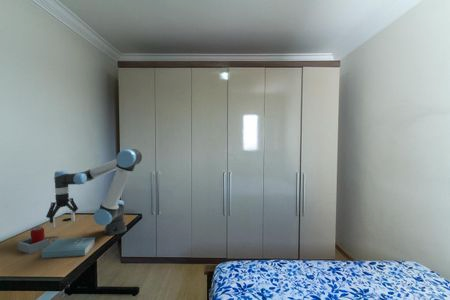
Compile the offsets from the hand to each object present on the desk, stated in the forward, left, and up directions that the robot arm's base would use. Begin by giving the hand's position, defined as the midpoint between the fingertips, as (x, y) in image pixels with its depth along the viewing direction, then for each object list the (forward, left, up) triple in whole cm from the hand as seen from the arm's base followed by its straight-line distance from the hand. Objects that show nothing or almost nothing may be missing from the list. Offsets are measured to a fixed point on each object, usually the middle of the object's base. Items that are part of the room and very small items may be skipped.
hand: (63, 223), depth 163 cm
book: (-22, +11, -11) cm, 27 cm away
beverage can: (+1, +15, -10) cm, 18 cm away
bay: (0, +16, -10) cm, 18 cm away
